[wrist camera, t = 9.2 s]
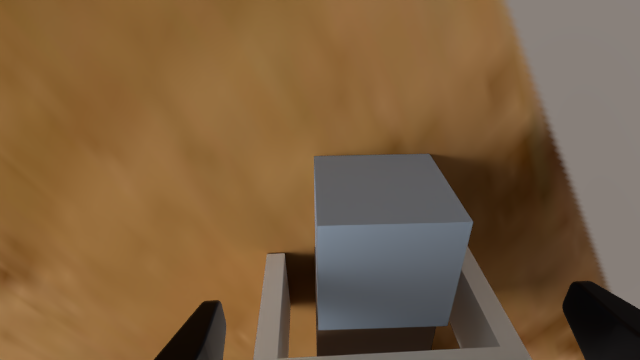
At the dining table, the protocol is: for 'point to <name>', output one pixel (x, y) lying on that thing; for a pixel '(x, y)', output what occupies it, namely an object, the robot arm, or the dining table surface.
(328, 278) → the block
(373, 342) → the brown wooden bar
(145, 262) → the dining table surface
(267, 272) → the tunnel
